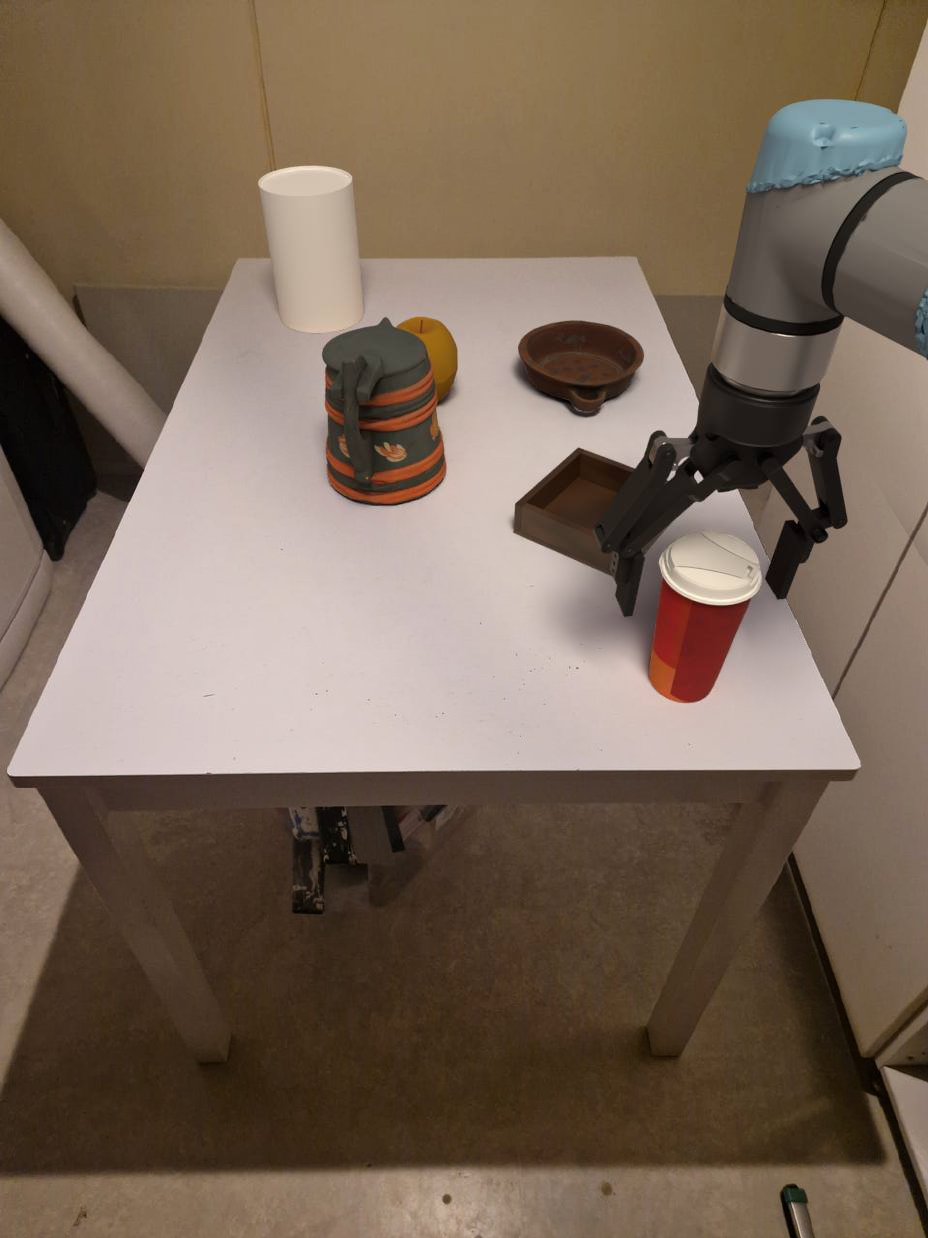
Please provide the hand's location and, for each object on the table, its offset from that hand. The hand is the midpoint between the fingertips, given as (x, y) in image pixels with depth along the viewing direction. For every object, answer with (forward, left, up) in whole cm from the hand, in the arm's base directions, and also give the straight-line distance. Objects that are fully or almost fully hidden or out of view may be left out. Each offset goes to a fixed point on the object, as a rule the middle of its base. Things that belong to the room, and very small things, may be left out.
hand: (700, 597), depth 71 cm
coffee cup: (0, 0, -11) cm, 11 cm away
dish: (+36, -43, -11) cm, 58 cm away
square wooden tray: (+18, -16, -10) cm, 26 cm away
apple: (+51, -26, -11) cm, 58 cm away
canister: (+81, -38, -11) cm, 90 cm away
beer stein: (+43, -8, -11) cm, 45 cm away
